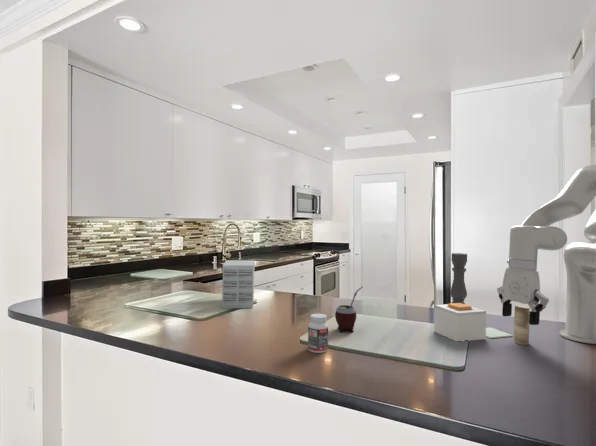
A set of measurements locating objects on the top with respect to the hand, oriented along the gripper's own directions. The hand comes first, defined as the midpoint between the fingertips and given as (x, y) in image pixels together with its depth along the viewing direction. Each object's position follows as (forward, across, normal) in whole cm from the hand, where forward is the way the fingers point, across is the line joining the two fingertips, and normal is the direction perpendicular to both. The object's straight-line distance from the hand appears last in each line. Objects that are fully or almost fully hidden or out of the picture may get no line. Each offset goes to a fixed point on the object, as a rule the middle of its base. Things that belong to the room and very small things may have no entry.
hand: (519, 320), depth 114 cm
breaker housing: (+7, -11, -13) cm, 19 cm away
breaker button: (+1, -11, -13) cm, 17 cm away
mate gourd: (+9, -25, -47) cm, 54 cm away
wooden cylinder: (+7, 0, +1) cm, 7 cm away
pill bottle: (+9, -10, -63) cm, 64 cm away
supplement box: (+10, -72, -77) cm, 106 cm away
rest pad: (+7, -10, -1) cm, 12 cm away
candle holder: (+7, -30, +3) cm, 31 cm away
